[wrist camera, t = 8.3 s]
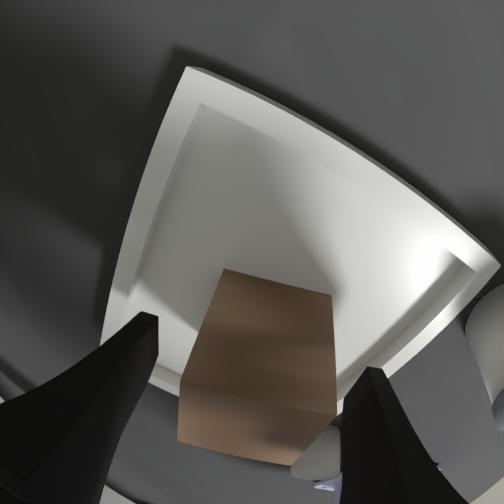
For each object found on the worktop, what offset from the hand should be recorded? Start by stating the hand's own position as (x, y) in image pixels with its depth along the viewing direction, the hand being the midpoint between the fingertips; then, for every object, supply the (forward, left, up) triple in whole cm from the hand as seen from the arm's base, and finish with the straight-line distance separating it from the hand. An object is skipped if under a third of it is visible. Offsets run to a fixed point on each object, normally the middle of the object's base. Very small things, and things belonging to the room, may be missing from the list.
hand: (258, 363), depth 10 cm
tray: (0, 0, -3) cm, 3 cm away
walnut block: (0, 0, -2) cm, 2 cm away
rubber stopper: (-8, +8, -3) cm, 12 cm away
